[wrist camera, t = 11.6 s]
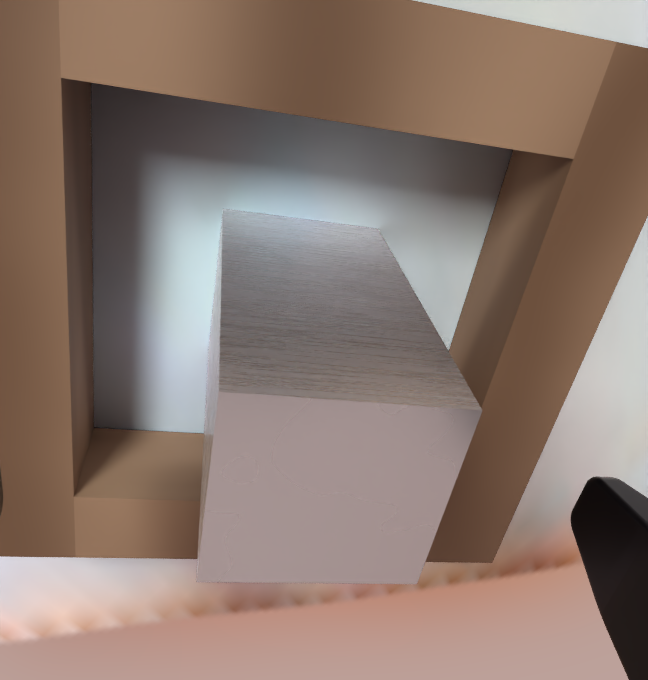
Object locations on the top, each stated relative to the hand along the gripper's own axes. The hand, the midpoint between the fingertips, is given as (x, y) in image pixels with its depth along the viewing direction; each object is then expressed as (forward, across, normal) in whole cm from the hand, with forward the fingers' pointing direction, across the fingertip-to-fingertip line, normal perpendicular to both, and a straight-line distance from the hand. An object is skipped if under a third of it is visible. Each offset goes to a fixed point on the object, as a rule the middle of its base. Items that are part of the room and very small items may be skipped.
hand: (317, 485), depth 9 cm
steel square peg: (+7, 0, 0) cm, 7 cm away
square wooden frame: (+7, 0, 0) cm, 7 cm away
